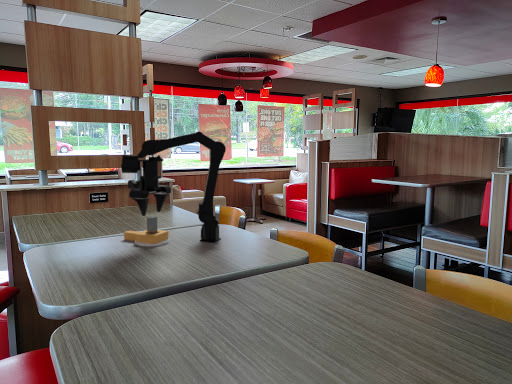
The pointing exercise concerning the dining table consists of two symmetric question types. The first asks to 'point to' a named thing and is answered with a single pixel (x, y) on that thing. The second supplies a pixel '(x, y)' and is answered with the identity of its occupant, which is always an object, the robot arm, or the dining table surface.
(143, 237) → the bracket
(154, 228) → the dark grey post
